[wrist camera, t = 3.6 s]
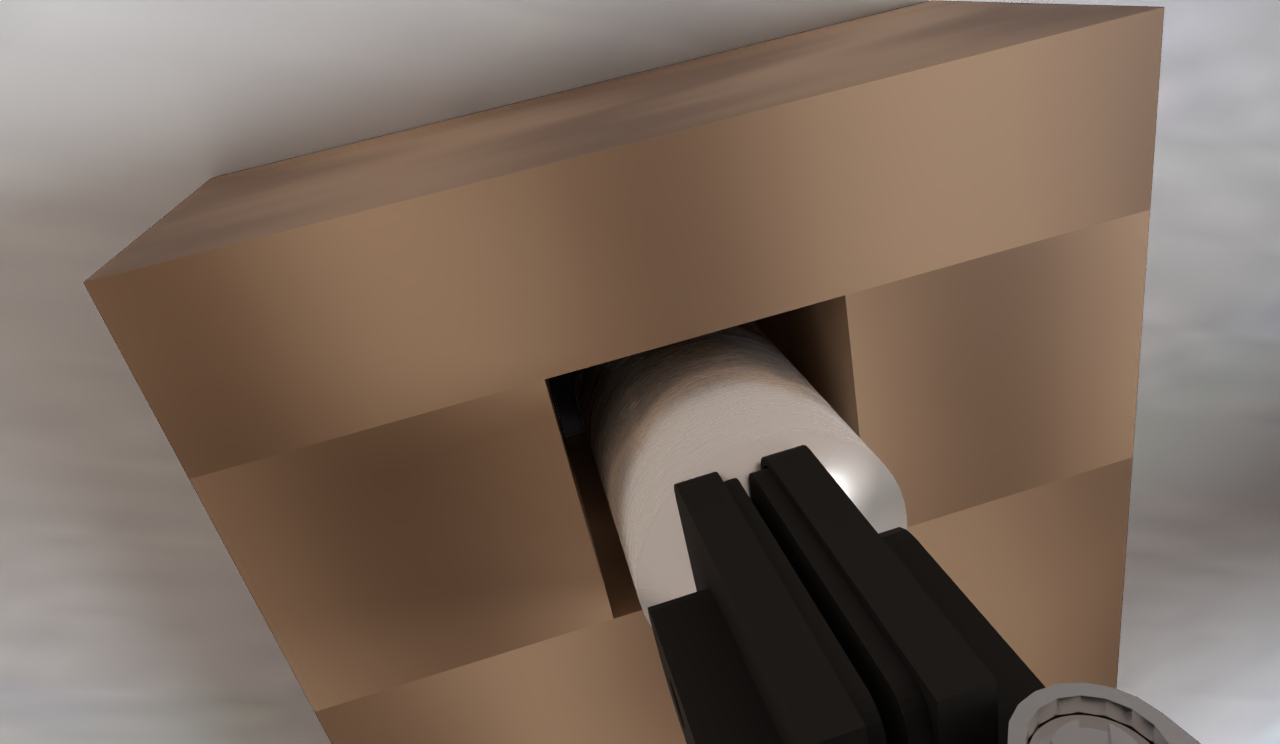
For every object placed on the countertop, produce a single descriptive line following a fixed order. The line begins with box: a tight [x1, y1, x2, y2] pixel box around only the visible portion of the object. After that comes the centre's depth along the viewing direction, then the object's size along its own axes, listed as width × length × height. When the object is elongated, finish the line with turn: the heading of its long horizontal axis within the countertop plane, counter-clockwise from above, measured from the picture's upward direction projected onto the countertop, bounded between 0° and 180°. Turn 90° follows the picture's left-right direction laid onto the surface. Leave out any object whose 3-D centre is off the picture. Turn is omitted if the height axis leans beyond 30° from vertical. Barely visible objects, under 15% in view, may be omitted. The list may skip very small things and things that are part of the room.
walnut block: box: [83, 1, 1164, 744], centre depth 18 cm, size 14×24×6 cm, turn 12°
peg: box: [575, 321, 907, 627], centre depth 13 cm, size 4×4×6 cm
